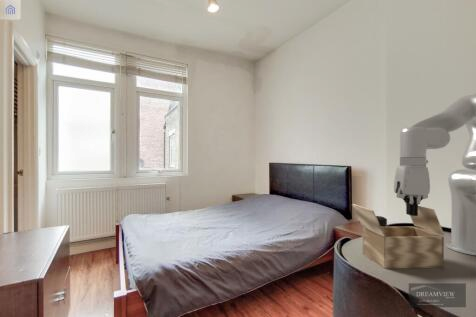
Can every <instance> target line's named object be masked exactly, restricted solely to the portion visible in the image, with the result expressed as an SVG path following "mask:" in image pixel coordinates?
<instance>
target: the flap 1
mask: <svg viewBox="0 0 476 317" xmlns="http://www.w3.org/2000/svg"><path fill="white" fill-rule="evenodd" d="M351 206H352V207H353V209H354V212H355V214H356V215H357V216H356V217H357V218H358V220H359V223H360V225H361V227H362V228H363V227H365V228H367V229H369V230H371V231H373V232H375V233H377V234H379V235H381V236H385V235H384V233H383V231H382V229H381V226H380V224H379V222H378V219H377V217H376V216H377V215H376V213H375V210H374V209H370V208H367V207H364V206H361V205H358V204H355V203H352V204H351Z"/></svg>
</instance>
